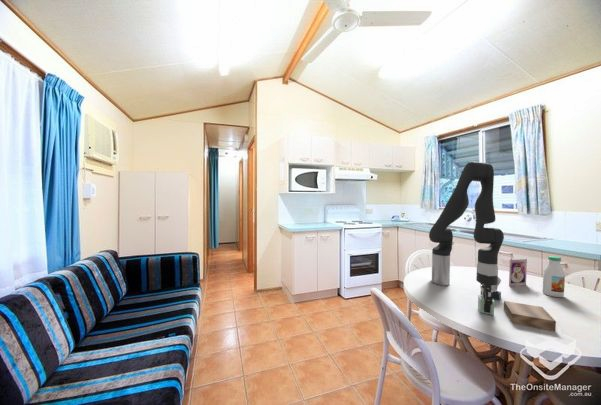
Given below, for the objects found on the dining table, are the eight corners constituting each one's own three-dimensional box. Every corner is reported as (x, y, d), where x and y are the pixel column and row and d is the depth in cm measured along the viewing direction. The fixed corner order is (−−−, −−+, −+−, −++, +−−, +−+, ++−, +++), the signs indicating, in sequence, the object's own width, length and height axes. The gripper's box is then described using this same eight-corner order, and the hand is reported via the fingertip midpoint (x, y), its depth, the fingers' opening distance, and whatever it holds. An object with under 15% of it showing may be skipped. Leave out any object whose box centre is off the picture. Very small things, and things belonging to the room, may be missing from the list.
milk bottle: (542, 294, 126) (544, 257, 125) (542, 290, 131) (543, 254, 130) (564, 299, 120) (566, 259, 120) (563, 294, 126) (564, 256, 125)
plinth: (511, 322, 100) (512, 313, 99) (503, 309, 111) (503, 300, 111) (555, 331, 93) (555, 321, 93) (542, 316, 105) (542, 307, 105)
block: (479, 312, 108) (480, 299, 108) (477, 307, 112) (478, 294, 112) (493, 315, 106) (494, 301, 105) (491, 310, 110) (491, 297, 110)
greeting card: (510, 286, 137) (511, 260, 136) (498, 281, 144) (498, 256, 143) (527, 285, 139) (528, 259, 138) (514, 280, 146) (515, 256, 145)
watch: (501, 296, 124) (502, 275, 124) (498, 301, 119) (499, 279, 118) (488, 293, 128) (488, 272, 128) (484, 297, 123) (484, 276, 122)
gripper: (474, 266, 116) (473, 301, 117) (479, 275, 104) (478, 314, 104) (494, 268, 112) (492, 304, 113) (501, 278, 100) (500, 318, 101)
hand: (485, 309), depth 109 cm, fingers closed on block, 5 cm apart
